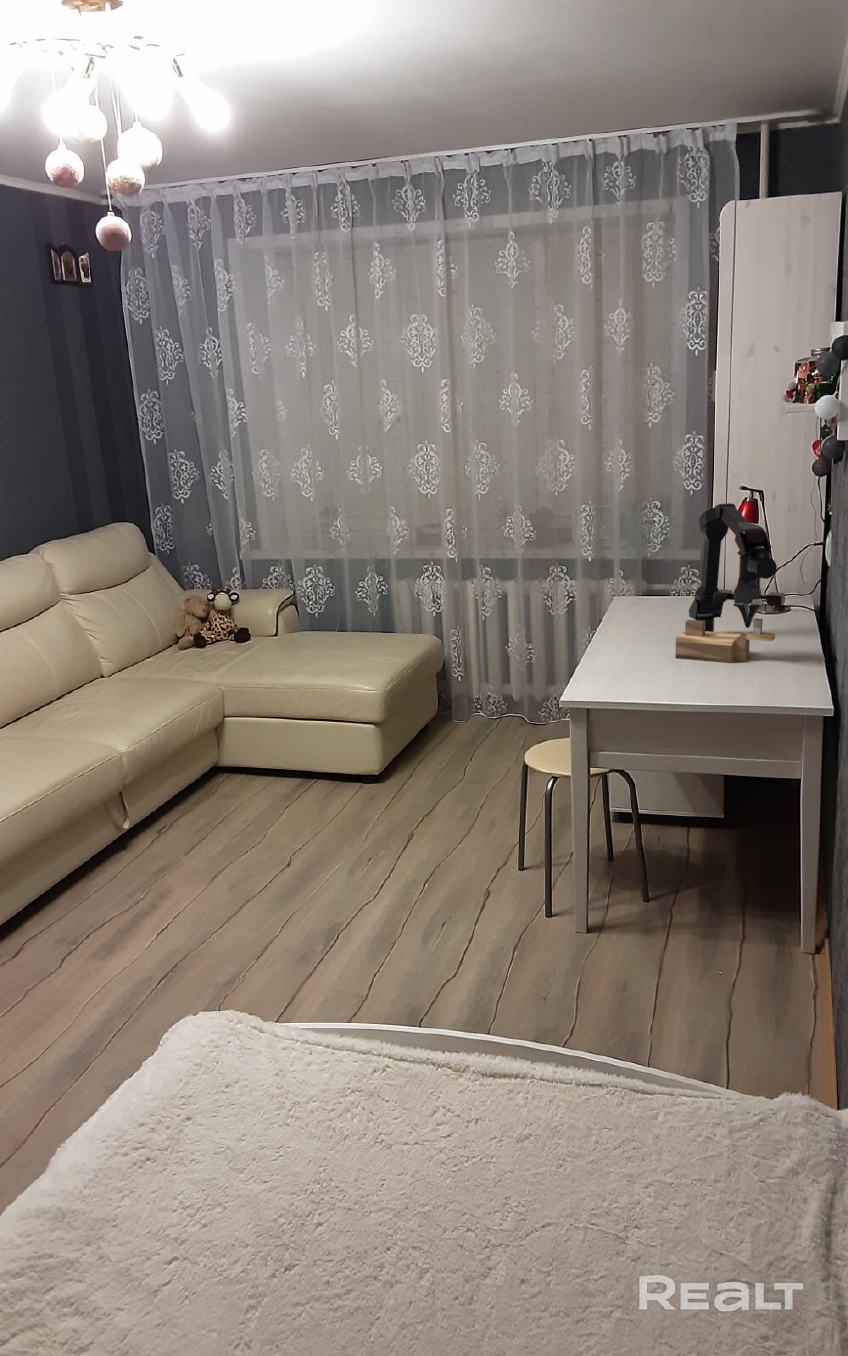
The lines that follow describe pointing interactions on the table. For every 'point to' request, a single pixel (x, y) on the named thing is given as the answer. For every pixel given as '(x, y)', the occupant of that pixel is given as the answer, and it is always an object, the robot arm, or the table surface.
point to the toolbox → (714, 651)
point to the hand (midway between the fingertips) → (747, 627)
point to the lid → (705, 634)
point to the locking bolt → (759, 632)
